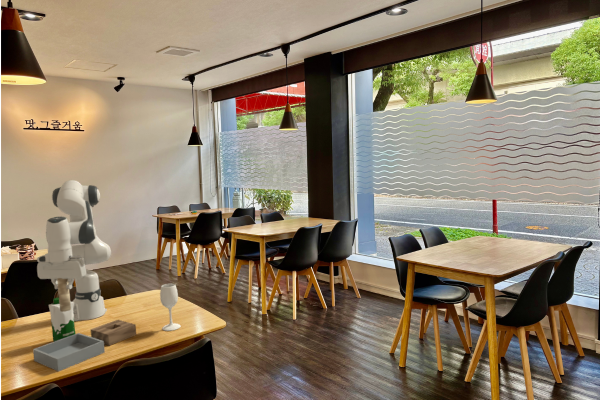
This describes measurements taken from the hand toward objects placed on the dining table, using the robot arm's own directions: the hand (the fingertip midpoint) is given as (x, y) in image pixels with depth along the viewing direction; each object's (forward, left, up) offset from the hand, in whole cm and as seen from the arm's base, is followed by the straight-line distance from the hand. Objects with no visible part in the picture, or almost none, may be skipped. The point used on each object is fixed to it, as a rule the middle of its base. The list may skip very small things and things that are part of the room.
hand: (63, 288), depth 185 cm
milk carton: (-19, +8, -30) cm, 36 cm away
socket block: (-2, +22, -29) cm, 37 cm away
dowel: (0, 0, -9) cm, 9 cm away
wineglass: (+13, +43, -30) cm, 54 cm away
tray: (0, 0, -29) cm, 29 cm away
